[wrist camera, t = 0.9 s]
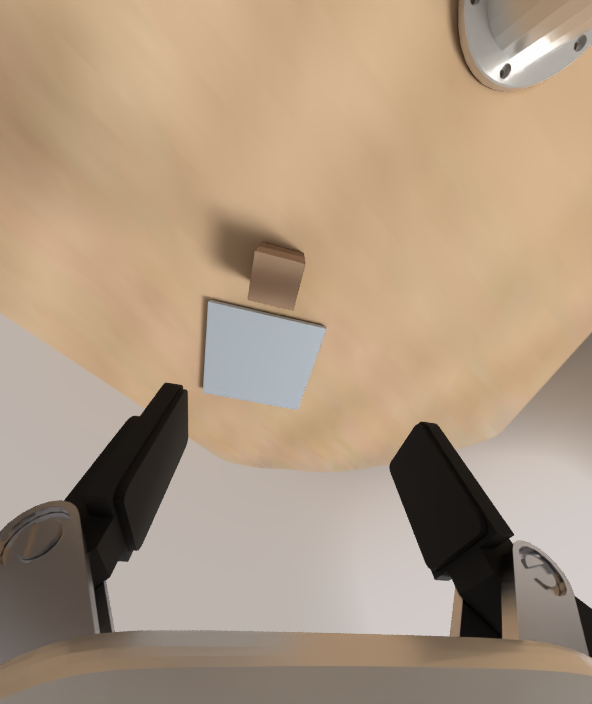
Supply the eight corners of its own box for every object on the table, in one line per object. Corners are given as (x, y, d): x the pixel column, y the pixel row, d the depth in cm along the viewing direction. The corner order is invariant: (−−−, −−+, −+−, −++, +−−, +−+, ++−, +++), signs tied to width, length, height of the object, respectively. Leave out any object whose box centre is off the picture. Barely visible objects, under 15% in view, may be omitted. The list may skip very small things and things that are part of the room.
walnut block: (262, 242, 28) (254, 250, 23) (303, 253, 28) (305, 264, 23) (255, 283, 30) (247, 299, 25) (293, 293, 31) (293, 310, 26)
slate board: (210, 299, 31) (208, 301, 31) (325, 326, 33) (326, 328, 33) (204, 389, 39) (202, 392, 39) (297, 406, 42) (297, 409, 41)
